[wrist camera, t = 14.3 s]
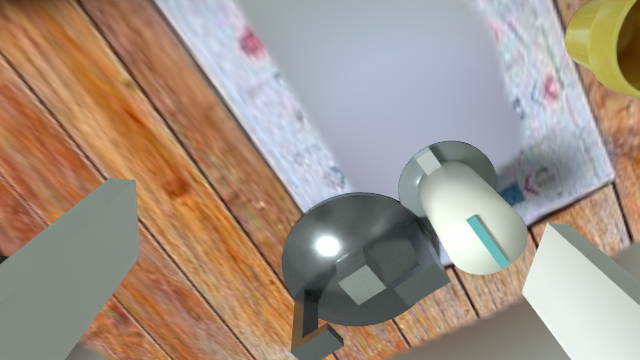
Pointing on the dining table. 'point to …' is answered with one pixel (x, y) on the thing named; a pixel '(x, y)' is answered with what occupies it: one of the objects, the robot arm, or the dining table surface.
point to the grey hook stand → (355, 268)
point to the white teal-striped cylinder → (469, 216)
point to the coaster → (442, 153)
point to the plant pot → (608, 43)
